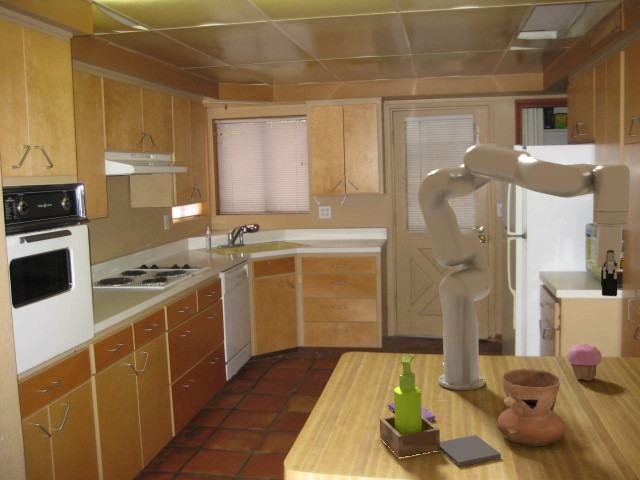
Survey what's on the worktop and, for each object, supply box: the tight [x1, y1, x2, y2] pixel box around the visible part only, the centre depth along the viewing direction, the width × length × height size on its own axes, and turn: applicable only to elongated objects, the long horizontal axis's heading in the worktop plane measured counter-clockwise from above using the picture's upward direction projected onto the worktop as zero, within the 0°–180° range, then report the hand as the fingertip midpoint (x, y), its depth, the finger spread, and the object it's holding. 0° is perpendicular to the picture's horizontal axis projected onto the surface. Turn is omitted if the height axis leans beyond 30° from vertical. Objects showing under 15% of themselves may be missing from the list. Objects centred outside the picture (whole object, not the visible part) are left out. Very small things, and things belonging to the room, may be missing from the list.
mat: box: [440, 434, 502, 467], centre depth 142 cm, size 10×10×1 cm
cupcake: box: [566, 343, 603, 382], centre depth 182 cm, size 9×9×10 cm
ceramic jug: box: [497, 368, 567, 447], centre depth 147 cm, size 18×14×14 cm
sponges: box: [387, 402, 436, 422], centre depth 164 cm, size 7×13×2 cm, turn 19°
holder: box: [379, 415, 441, 458], centre depth 146 cm, size 11×10×5 cm
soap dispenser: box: [393, 355, 422, 435], centre depth 145 cm, size 6×7×20 cm
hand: (608, 291), depth 154 cm, fingers open, 9 cm apart
